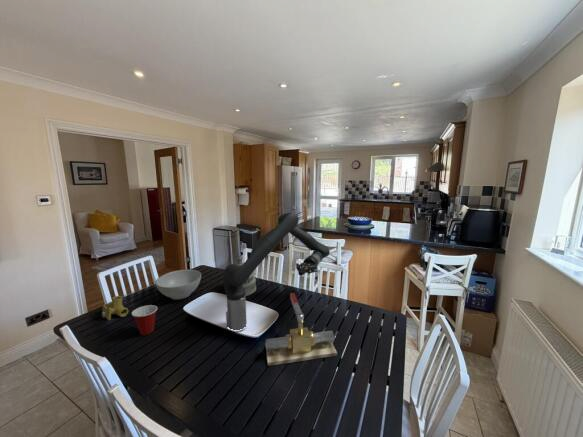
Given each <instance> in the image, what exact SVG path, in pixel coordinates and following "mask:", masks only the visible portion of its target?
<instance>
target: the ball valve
mask: <svg viewBox="0 0 583 437" xmlns="http://www.w3.org/2000/svg"><path fill="white" fill-rule="evenodd" d="M129 312H130V311H129V309H128V307H127V308H126V307H124V305H123V296H121V295H116V296H113V297H112V302H108V304H107V305H105V304H103V305H102V312H101V316H102V318H106V319H107V320H108V321H111V319H112V315H115V316H119V317H126V316H127V315H128V313H129Z"/></svg>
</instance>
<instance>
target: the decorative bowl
mask: <svg viewBox="0 0 583 437" xmlns="http://www.w3.org/2000/svg"><path fill="white" fill-rule="evenodd" d="M201 279H202V273H201V271H199V270H196V269H180V270H174V271H170V272H168V273H165V274H162V275H160V276H159V277H158V278H157V279H156V280H155V282H154V283H155V286H156V289H157V290H158V291H159V292H160V293H161V294H162V295H164V296H165V297H167V298H170V299H172V300H173V301H174V300H175V301H176V300H177V301H179V300H183V299H186V298H188V297H190V296H191V294H192V293H193V292H194V291H195V290H196V289H197V288H198V286H199V285H200V282H201Z"/></svg>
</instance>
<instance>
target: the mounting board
mask: <svg viewBox="0 0 583 437" xmlns="http://www.w3.org/2000/svg"><path fill="white" fill-rule="evenodd" d="M265 351H266V361H267V367H270V366H278V365H283V364H284V365H285V364H289V363H296V362H304V361H309V360H317V359H323V358H330V357H337V356H338V352H337V350H336V348H335V346H334V344H333V342H326V343H319V344H315V346H312V347H311V352H306V353H300V354H293V353H292V349H291V350H287V348H283V349H276V350H268V351H267V349H266V348H265Z"/></svg>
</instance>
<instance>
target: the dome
mask: <svg viewBox="0 0 583 437" xmlns="http://www.w3.org/2000/svg"><path fill="white" fill-rule="evenodd" d="M244 263H245V262H243V257H242V256H241V255H240V254H239V256H238V257H237V263H236V265H238V266H241V265H243V264H244ZM256 282H257V279H256V277H255V276H254V272H253V273H252V274H251V275H250V277H249V278H248V279H247V281H246V282H245V283H244V284H243V285H242V286H243V288H244V289H245V297H248V296H251V295H252V294H254V293H255V292H256V291H257V285H256Z"/></svg>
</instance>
